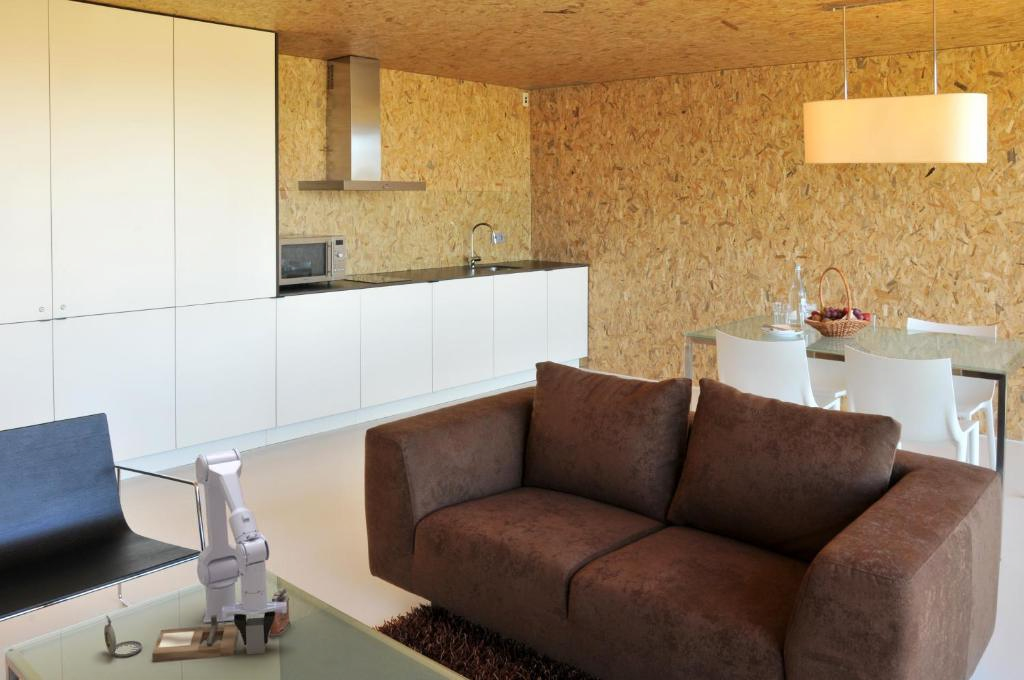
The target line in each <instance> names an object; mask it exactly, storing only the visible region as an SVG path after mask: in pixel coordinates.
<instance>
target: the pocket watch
mask: <svg viewBox="0 0 1024 680" xmlns="http://www.w3.org/2000/svg"><path fill="white" fill-rule="evenodd" d="M106 619H107V624H106V625H104V629H103V631H104V632H103V633H104V635H103V637H104V641H105V646H106V649H107V651H108V653H109V654H112V655H113V656H115V657H129V656H133V655H135V654H137V653H139V652H140V651H141V650H142V648H143V644H142V642H140V641H137V640H126V641H121V642H119V643H117V637H116V634H115V633H116V632H115V630H114V628H113V626H112V620H111V618H109V616H108V615H107V614H106ZM123 645H124V646H128V645H134V646H136V647H133V648H138V649H132V650H136V651H130V652H131V653H127V654H117V653H115V651H116V649H118V648H119V647H122V646H123ZM130 647H132V646H130Z"/></svg>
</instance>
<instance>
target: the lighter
mask: <svg viewBox="0 0 1024 680" xmlns="http://www.w3.org/2000/svg"><path fill="white" fill-rule="evenodd" d="M271 602H286V606H287V611H286V613H282V612H278V613H275V619H274V621H273V623H272V626H271V628H270V631H269V635H268V637H269V638H272V639H278V638H280V637H281V636H283V635H284V634H285V633H286V632H287V631H288V630H287V629H290V627H289V626H291V621H290V606H289V605H290V604H289V603H290V596H289V595H287V589H286V587H281V588H280V589H279V590H278V591H276V592H274V593H273V595H272V597H271Z"/></svg>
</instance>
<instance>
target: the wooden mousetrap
mask: <svg viewBox="0 0 1024 680" xmlns="http://www.w3.org/2000/svg"><path fill="white" fill-rule="evenodd" d="M158 635H159V636H158V637H157V640H156V643H155V646H154V648H153V651H152V653H151V655H152V662H153V661H158V662H167V660H170V661H179V660H180V661H181V660H193V659H194V660H195V659H205V658H206V659H207V658H215V657H217V658H218V657H228V656H229V657H230V656H234V655H235V651H236V645H237V640H238V635H239V630H238V628H237V626H236V625H235V623H234V624H225V625H224V624H223V625H218V622H217V615H211V622H210V626H198V627H197V626H196V627H184V628H172V629H170V628H169V629H161V630H160V633H159V634H158ZM219 639H220V640H221V642H213V641H214V640H219ZM203 641H207V642H206V643H203Z"/></svg>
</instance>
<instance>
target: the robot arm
mask: <svg viewBox="0 0 1024 680" xmlns="http://www.w3.org/2000/svg"><path fill="white" fill-rule="evenodd" d="M242 469H243V459H242V455H241V453H240V451H239V450H238V449H236V448H231V449H227V450H222V451H216V452H215V451H214V452H209V453H200V454H198V455H197V458H196V460H195V474H196V475H195V476H196V481H197V482H196V483H197V484H200V485H203V489H204V502H205V503H204V504H205V512H206V513H205V514H206V515H205V516H206V527H207V528H206V529H207V542H208V545H207V546H206V547H205V548H204V549H203V550H202V551H201V552H200V553H199V554H198V555H197V565H196V571H197V572H196V573H197V578H198V581H199V583H200V584H201V585H203V586H205V600H206V603H205V604H206V612H205V614H204V618H203V623H205V624H207V623H211V615H217V623H219V622H220V623H221V622H232V621H233V622H234V624H235V625H236V626H237V628H238V632H239V633H240V636H241V638H242V641H243V645H244V646H247V645H246V622H247V616H248V617H257V616H258V615H262V614H263V617H264V631H265V634H264V644H266V645H267V644H268V642H269V632H270V628H271V626H272V623H273V621H274V619H275V613H278V612H282V613H286V611H287V606H286V602H272V600H271V601H268V597H267V596H268V595H267V593H268V592H267V570H266V561H268V560H269V559H270V547H269V543H268V540H267V538H266V537H265V536H264V535H263V534H264V533H262V532H260V531H259V527H258V525H257V522H256V519H255V516H254V514H253V511H252V510H251V509H248V508H246V503H245V499H244V495H243V489H242V487H241V483H240V478H241V475H242ZM227 507H228V509H229V512H230V516H229V518H227V517H228V516H227ZM228 524H229V526H230V530H231V532H232V536H233V539H234V541H235V544H236V545H235V546H234V545H232V544H231V543H229V532H228ZM238 578H240V590H241V591H240V594H241V596H240V597H241V603H239V602H237V598H236V593H237V592H236V583H237V582H238Z"/></svg>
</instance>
